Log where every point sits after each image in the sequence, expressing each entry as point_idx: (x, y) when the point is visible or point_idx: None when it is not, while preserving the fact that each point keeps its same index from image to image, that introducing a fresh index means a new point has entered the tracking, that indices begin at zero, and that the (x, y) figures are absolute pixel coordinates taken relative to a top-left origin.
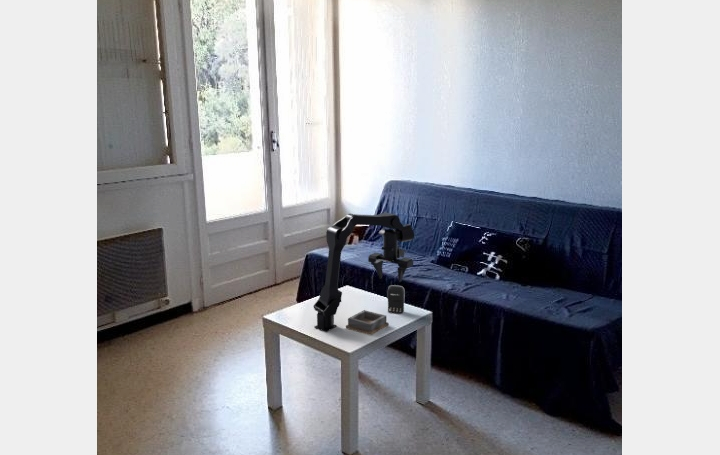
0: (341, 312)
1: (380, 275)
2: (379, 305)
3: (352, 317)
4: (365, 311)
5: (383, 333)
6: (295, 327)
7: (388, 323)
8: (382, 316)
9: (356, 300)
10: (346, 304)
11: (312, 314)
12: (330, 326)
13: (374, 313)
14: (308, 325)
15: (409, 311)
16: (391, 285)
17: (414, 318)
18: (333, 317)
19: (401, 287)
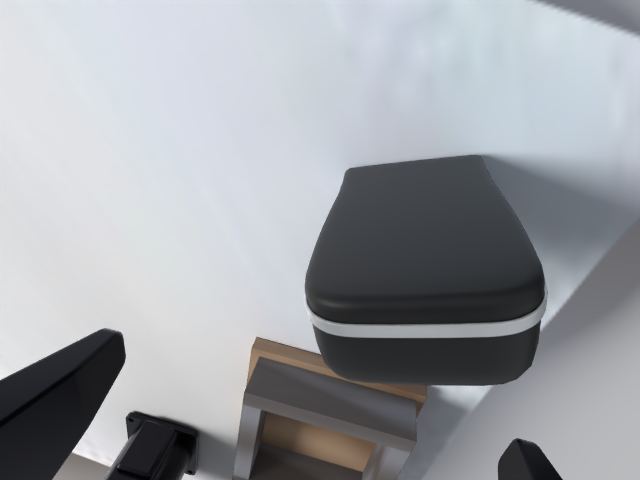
0: (100, 290)
1: (84, 420)
2: (228, 85)
3: (245, 474)
4: (264, 408)
5: (429, 459)
6: (76, 451)
7: (426, 394)
8: (394, 451)
9: (9, 46)
10: (23, 161)
11: (15, 343)
12: (188, 464)
13: (329, 424)
14: (98, 433)
15: (532, 127)
16: (341, 329)
17: (592, 259)
18: (159, 460)
19: (514, 348)
